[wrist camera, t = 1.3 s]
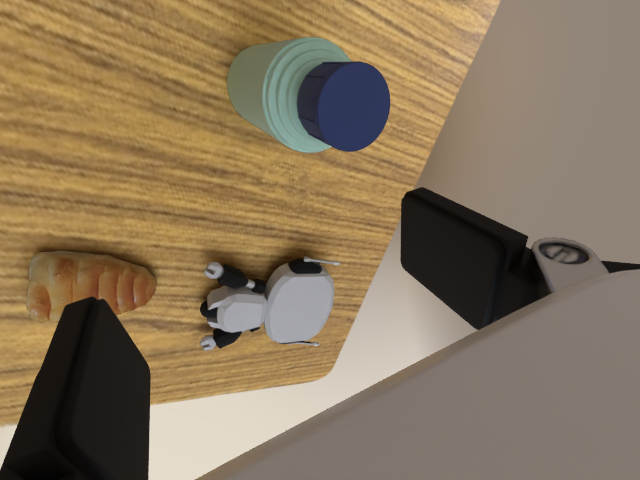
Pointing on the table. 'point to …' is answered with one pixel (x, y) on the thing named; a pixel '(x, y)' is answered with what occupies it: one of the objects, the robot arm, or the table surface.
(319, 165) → the table surface
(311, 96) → the cap
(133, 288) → the pastry
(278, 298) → the robot toy
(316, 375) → the table surface
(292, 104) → the bottle
